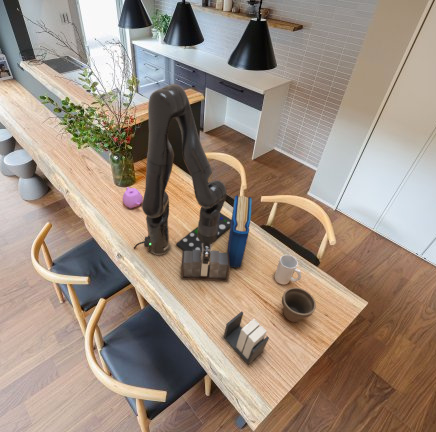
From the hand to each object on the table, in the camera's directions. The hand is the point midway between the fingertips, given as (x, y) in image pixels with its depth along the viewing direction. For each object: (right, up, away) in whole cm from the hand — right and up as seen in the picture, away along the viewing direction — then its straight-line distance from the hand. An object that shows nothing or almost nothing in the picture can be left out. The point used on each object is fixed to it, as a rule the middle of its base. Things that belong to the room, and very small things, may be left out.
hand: (205, 256), depth 123 cm
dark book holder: (+12, -30, -14) cm, 35 cm away
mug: (+34, -11, +5) cm, 36 cm away
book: (+15, 0, +17) cm, 23 cm away
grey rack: (0, -8, +8) cm, 12 cm away
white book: (0, -7, +7) cm, 10 cm away
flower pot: (+33, -22, -6) cm, 40 cm away
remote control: (+3, +7, +24) cm, 26 cm away
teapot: (-35, +23, +40) cm, 58 cm away
